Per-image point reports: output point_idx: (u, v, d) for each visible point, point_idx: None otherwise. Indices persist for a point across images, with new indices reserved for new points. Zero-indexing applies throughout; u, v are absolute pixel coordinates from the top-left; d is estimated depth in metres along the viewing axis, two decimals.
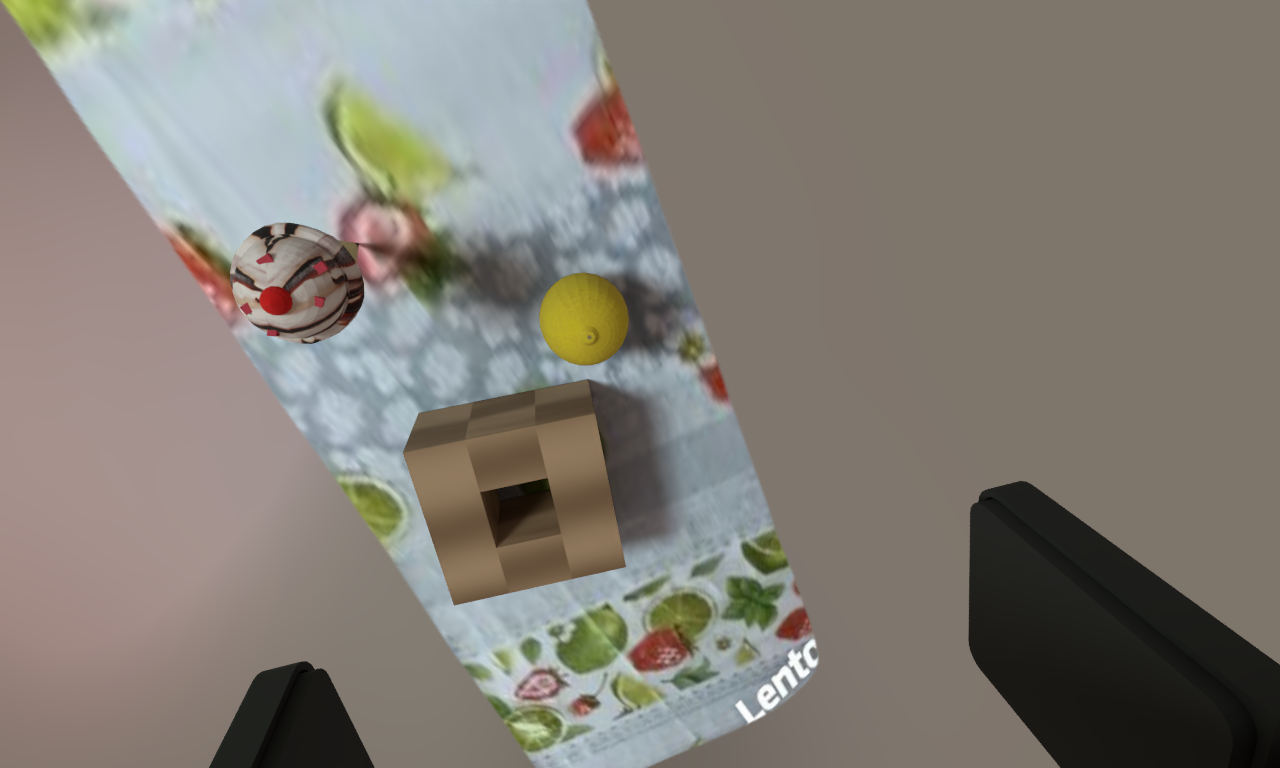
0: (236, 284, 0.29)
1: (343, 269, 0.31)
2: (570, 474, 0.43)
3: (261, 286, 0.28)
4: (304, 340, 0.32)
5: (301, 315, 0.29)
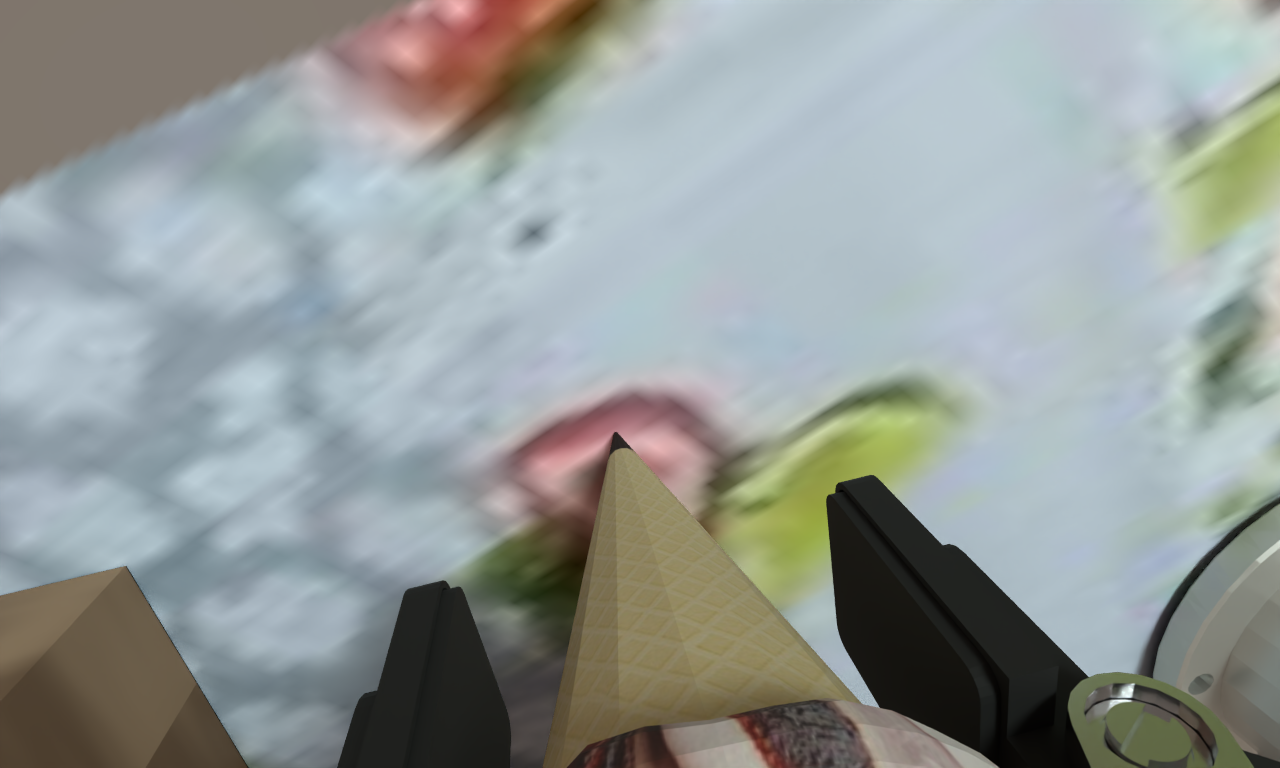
0: None
1: None
2: None
3: None
4: None
5: None
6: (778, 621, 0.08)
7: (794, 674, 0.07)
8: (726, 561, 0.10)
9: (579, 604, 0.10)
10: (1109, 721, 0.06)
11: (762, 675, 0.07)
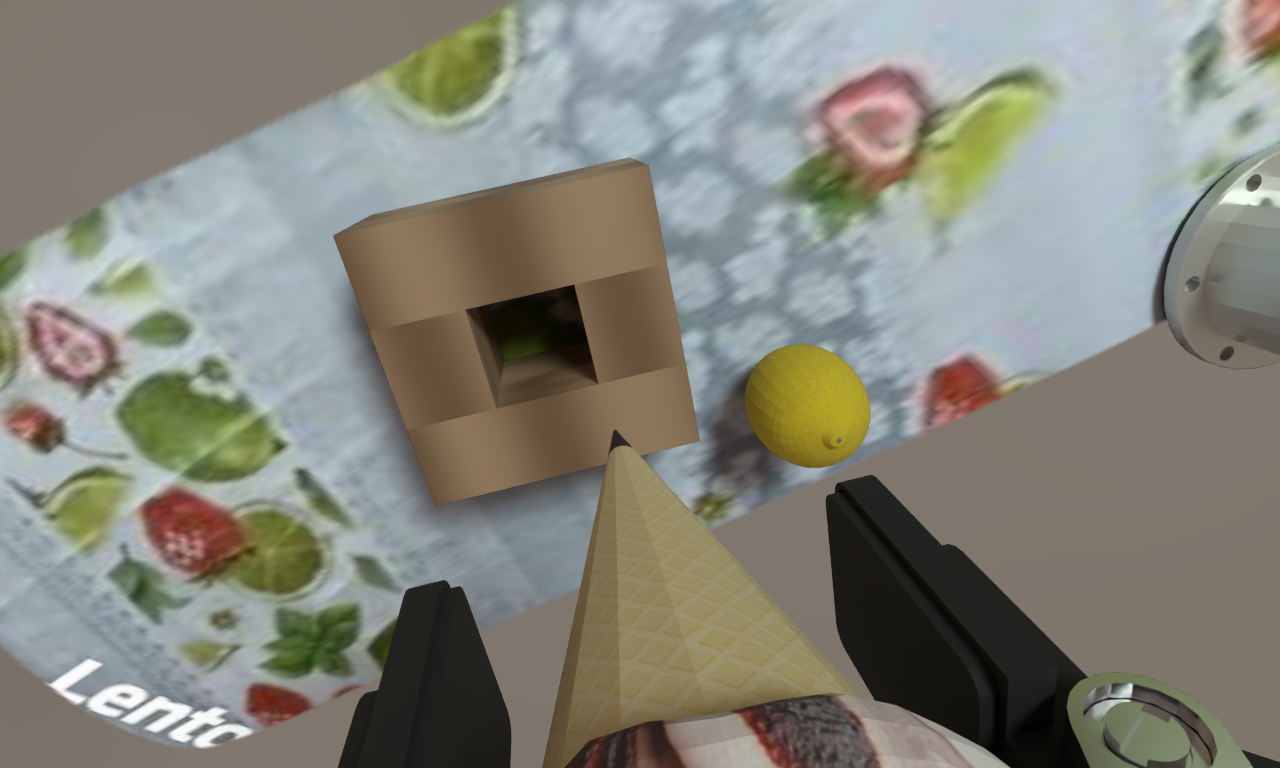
0: None
1: None
2: (603, 415, 0.28)
3: None
4: None
5: None
6: (779, 617, 0.08)
7: (797, 668, 0.07)
8: (727, 558, 0.10)
9: (579, 601, 0.10)
10: (1108, 721, 0.06)
11: (764, 671, 0.06)
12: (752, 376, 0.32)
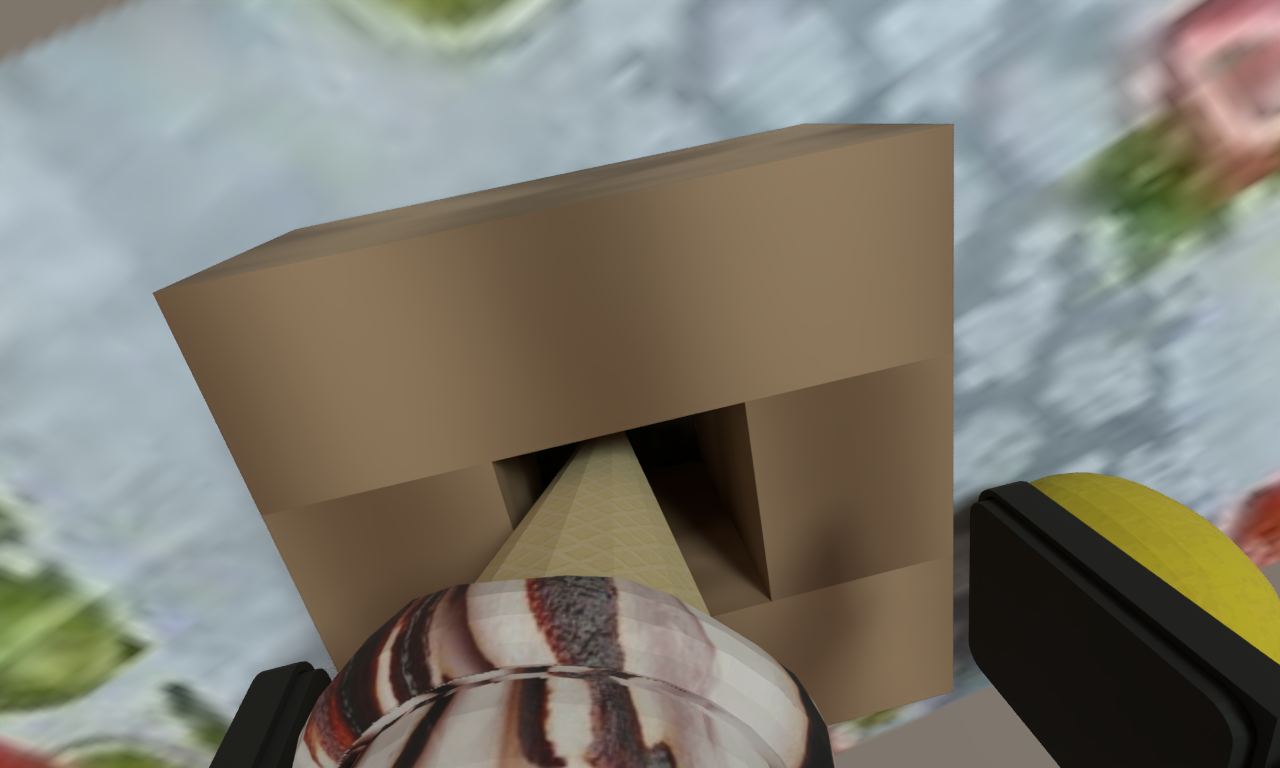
0: None
1: None
2: None
3: None
4: None
5: None
6: (658, 549, 0.09)
7: (638, 579, 0.08)
8: (643, 504, 0.11)
9: None
10: None
11: (604, 575, 0.08)
12: None
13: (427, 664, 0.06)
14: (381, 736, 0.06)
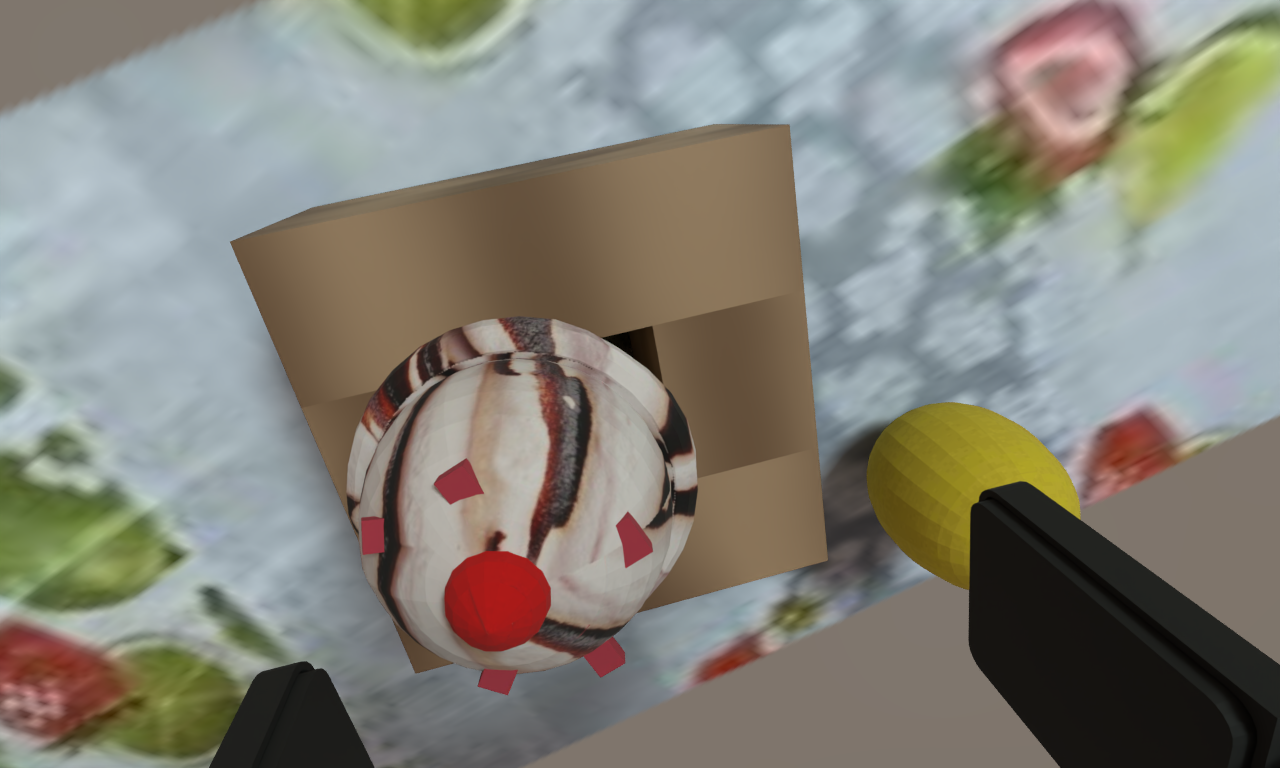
0: (539, 434, 0.08)
1: None
2: None
3: (545, 554, 0.08)
4: (356, 507, 0.10)
5: (448, 645, 0.08)
6: None
7: None
8: None
9: None
10: None
11: None
12: (886, 451, 0.22)
13: (439, 356, 0.10)
14: (411, 402, 0.10)
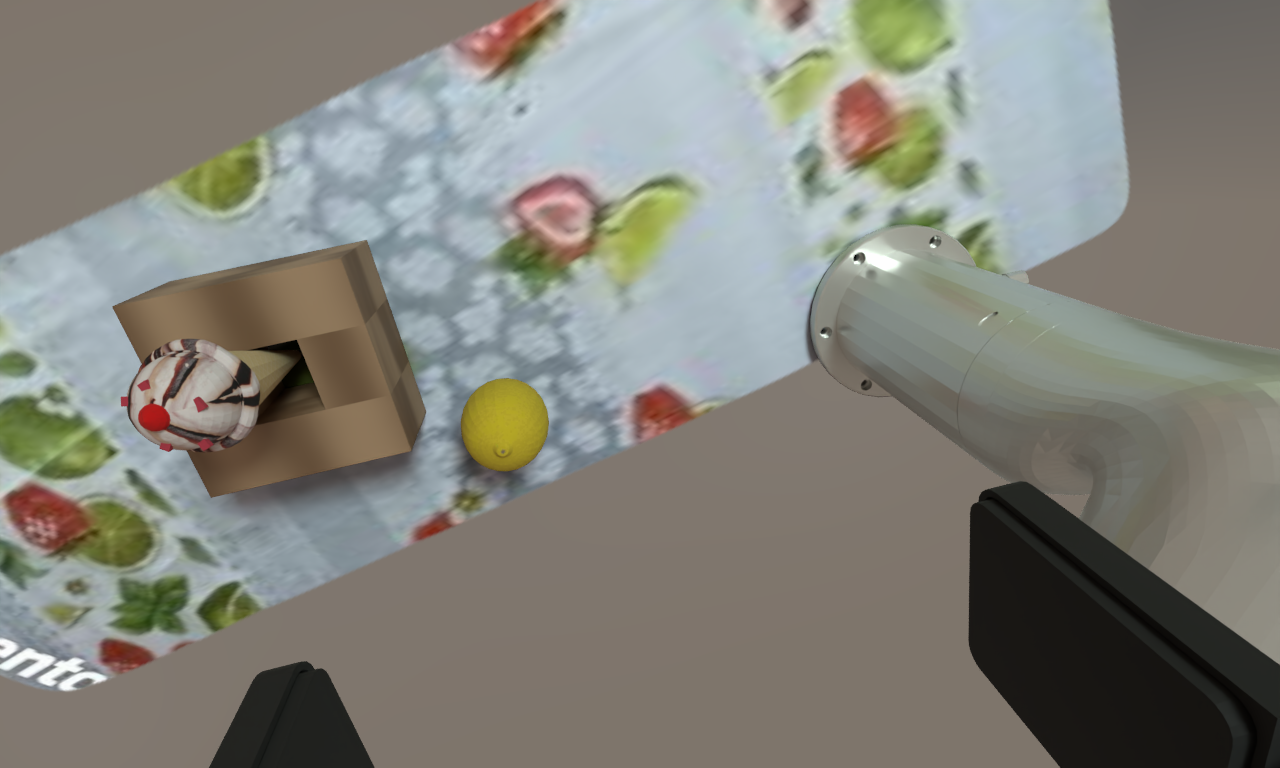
0: (171, 373, 0.29)
1: (218, 443, 0.32)
2: (332, 432, 0.39)
3: (167, 405, 0.29)
4: None
5: (146, 433, 0.30)
6: (246, 356, 0.34)
7: None
8: (259, 354, 0.36)
9: None
10: None
11: None
12: None
13: (160, 351, 0.31)
14: None
